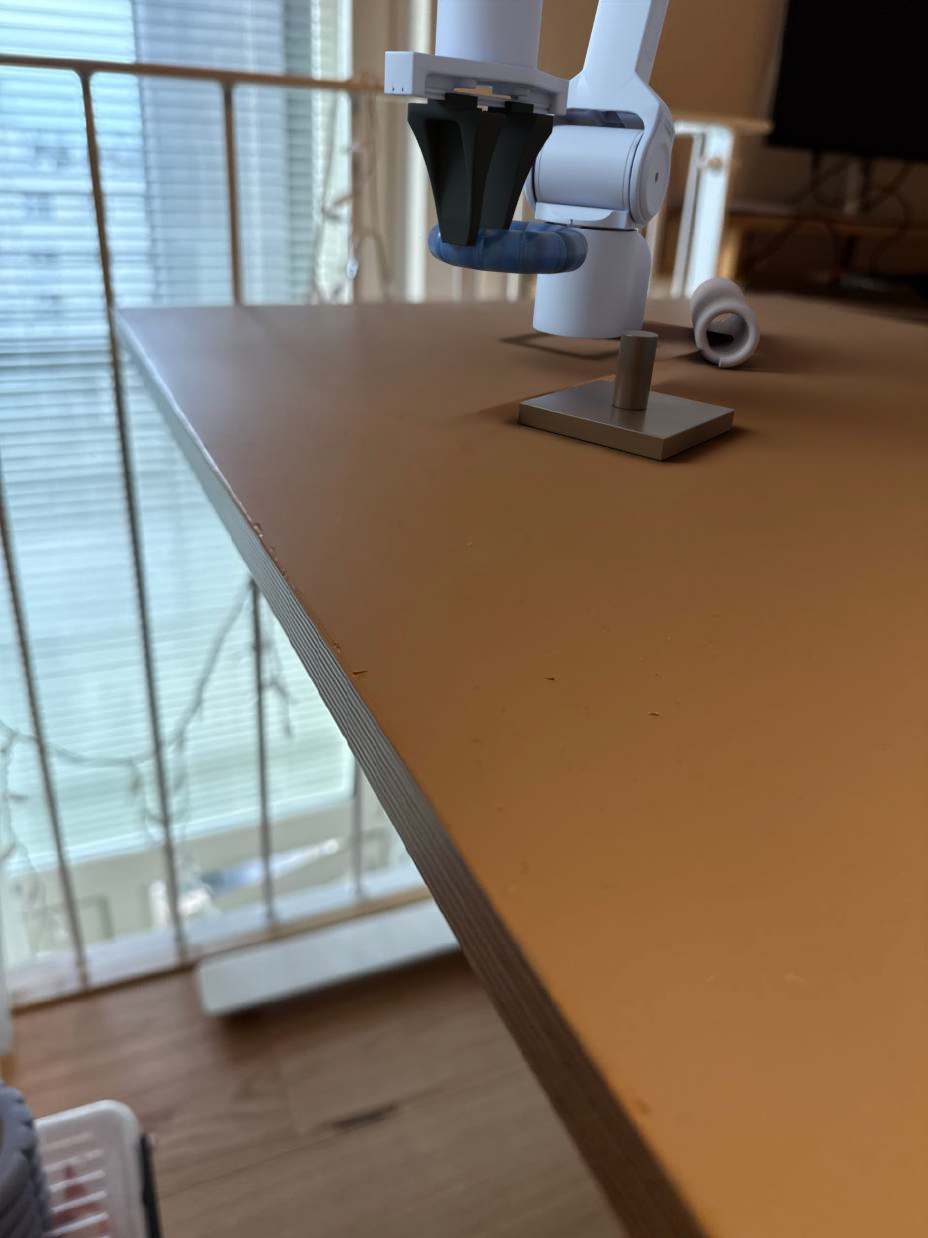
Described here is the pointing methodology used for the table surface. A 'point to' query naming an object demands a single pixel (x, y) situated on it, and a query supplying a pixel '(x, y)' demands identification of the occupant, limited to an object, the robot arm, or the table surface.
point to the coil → (724, 322)
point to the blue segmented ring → (516, 249)
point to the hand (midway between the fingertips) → (473, 243)
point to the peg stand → (628, 408)
